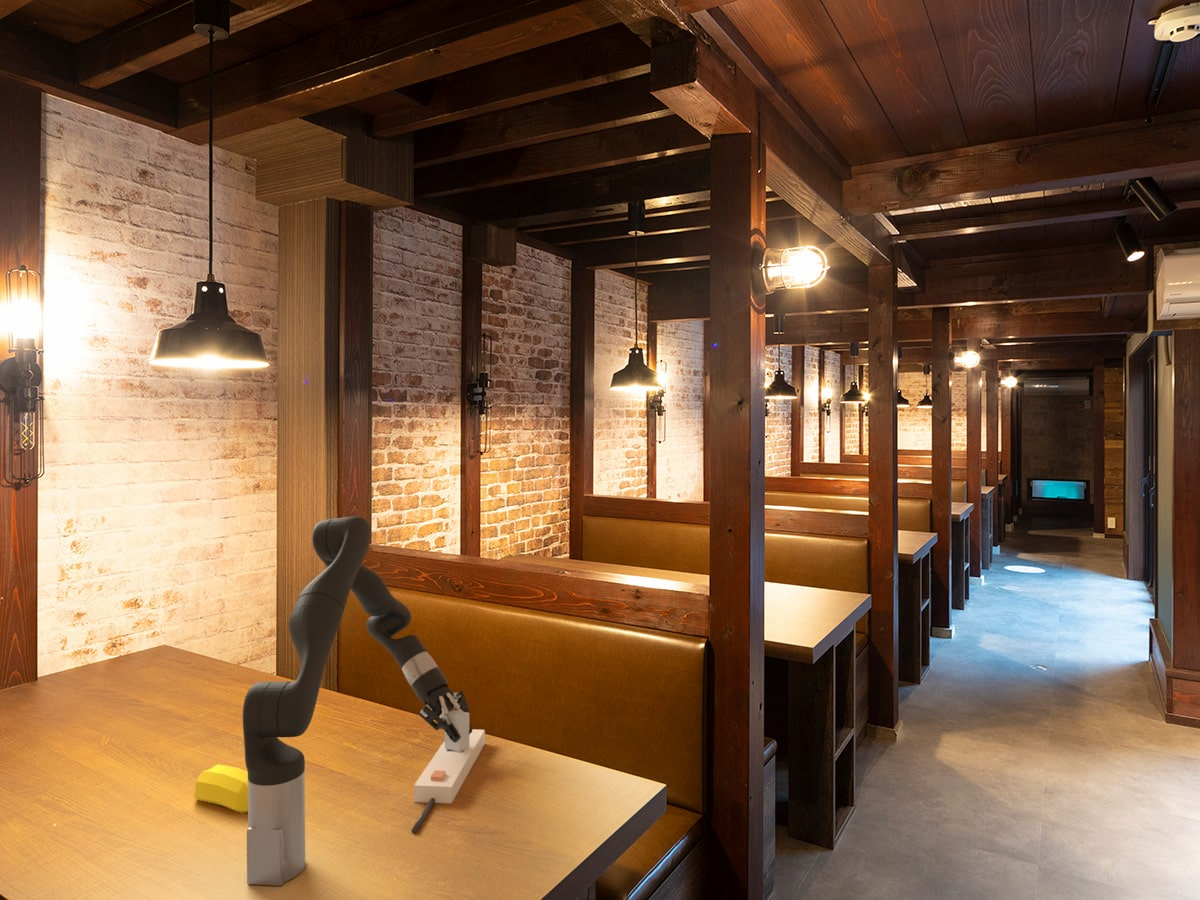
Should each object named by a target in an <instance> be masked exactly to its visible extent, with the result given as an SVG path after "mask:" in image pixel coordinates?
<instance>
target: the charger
mask: <svg viewBox="0 0 1200 900" xmlns="http://www.w3.org/2000/svg"><path fill="white" fill-rule="evenodd" d="M448 717H449V718H450V720H451V724H453V725H454V727H455V728H456V730H457V731H458V733H459V734H460V736H461V738H460V739H459V740H458V741H457V742H455V743H454V742H453V741H452V740H451V739H450V738H449V736H448V735H447V733H446V732H445V730H443V731H444V732H443V733H444V741H445V748H446V749H449V750H451V751H454V752H463V750H465V749H466V748H468V747H469V724H470V712H468V713H467V712H464V711H460V710H454V709H452V711H450V712H449V714H448ZM444 721H445V720H444Z"/></svg>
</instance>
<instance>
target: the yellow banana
mask: <svg viewBox="0 0 1200 900" xmlns="http://www.w3.org/2000/svg"><path fill="white" fill-rule="evenodd" d="M194 789H195V791H194V796H193V798H195V799H196V800H198V801H200V802H203V801H204V802H203V803H207V802H208V803H209V804H212V803H213V804H212V805H219V806H222V807H224V808H227V809H229V810H232V811H234V810H235V812H237V813H239V812H240V813H239V814H245V813H248V771H247V770H245V769H242V768H240V767H238V766H237V767H235V766H229V765H224V764H223V765H222V764H219V763H218V764H215V765H214V766H212V767H211V768H209V769H206V770H203V771H202V772H201V773H200V775H199V776H198V778H197V780H196V781H195V788H194Z"/></svg>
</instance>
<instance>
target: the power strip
mask: <svg viewBox="0 0 1200 900" xmlns="http://www.w3.org/2000/svg"><path fill="white" fill-rule="evenodd" d="M485 738H486V730H485V729H473V728H472V733H471V734H470V735H469V747H468V748H466V749H465V750H463V752H454V751H451V750H449V749H446V748H445V740H444V741H443V743H442V744H441V745H440V747H439V748H438V750H437V751H436V752H435V754H434V756H433V757H432V759H430V762H429V763H428V764H427V765H426V767H425V768H424V770H423V771H422V773H421V774H420V776H419V777H418V779H416V781H415V782H414V785H413V802H414V803H427V804H426V806H425V807H424V809H423V811H422V812H421V814H420V816H419V817H418V818H417V821H416V822H415V824H414V825H413V827H412V828H411V833H412V834H416V833H417V832H418V830H419V829H420V827H421V825H422V824H423V822H424V820H425V819H426V817H427V815H428V813H429V812H430V810H431V809H432V807H433V805H434V804H453V802H454V800H455V798H456V796H457V795H458V793H459V792H460V789H461V787H462V786H463V783H465V781H466V778H467V776H468V775H469V773H470V771H471V769H472V767H473V766H474V764H475V762H476V760H477V759H478V757H479V755H480V753H481V752H482V750H483V747H484V746H485V744H486V739H485Z"/></svg>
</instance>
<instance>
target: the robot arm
mask: <svg viewBox="0 0 1200 900" xmlns="http://www.w3.org/2000/svg"><path fill="white" fill-rule="evenodd" d="M311 539H312V546H313V549H314V551H315V553H316V555H317V557H318V558H319V559H320V560H321V561H322V562H323V563H324V564H325V565H326V566H327V567H326V568H325V569H324V570H323V571H322V572H320V573H319V574H318V575H317V576H316V577H314V579H312V580H311V581H310V582H309V583H308V584H307V585H306V586H305V587H304V588H303V589H302V590H301V591H300V594H299V595H298V597H297V600H296V602H295V604H294V607H293V609H292V611H291V614H290V617H289V621H288V631H289V636H290V638H291V642H292V643H293V646H294V649H295V650H296V654H297V656H298V660H299V662H300V668H299V673H298V676H297V678H296V679H295V680H294V681H260V682H256V683H254V684H252V685H251V686H250V688H249V689H248V690H247V693H246V694H245V697H244V701H243V705H242V730H243V744H244V745H243V746H244V760H245V761H244V762H245V766H246V767H245V768H246V771H248V811H247V824H248V825H247V830H246V883H247V884H248V885H256V886H257V885H259V886H260V885H261V886H276V887H277V886H280V887H281V886H283V885H284V883H286V882H288V881H290V880H292V879H294V878H296V877H297V876H299V875H300V874H301V873H302V872H303V871H304V869H305V867H306V788H305V787H306V778H305V777H306V775H305V773H306V770H305V767H306V765H305V764H306V763H305V755H304V753H303V751H301V750H300V749H298V748H296V747H293V746H291V745H289V744H286V743H285V742H283V741H282V740H281V739H279V738H296V737H301V736H302V735H304V734H305V732H307V730H308V729H309V727H310V724H311V722H312V719H313V716H314V712H315V709H316V706H317V705H316V704H317V700H318V697H319V693H320V690H321V689H320V687H321V685H322V684H321V683H322V682H323V681H322V680H323V675H324V672H325V668H326V664H327V661H328V658H329V655H330V652H331V648H332V646H333V643H334V640H335V638H336V635H337V632H338V630H339V627H340V624H341V621H342V619H343V615H344V612H345V609H346V605H347V602H348V599H349V595H350V593H351V592H352V593H353V595H354V596H355V597H356V599H357V601H358V602H359V604H360V605H361V607H362V609H363V611H364V612H365V613H366V614H367V615H369V616H370V617H368V619H367V621H366V629H367V632H368V633H369V635H370V636H371V637H372V638H373V639H374V640H375V641H377V642H379V644H380V645H382V646H383V647H384V648H385V649H386V650H387V651H389V653H390V655H391V656H392V657H393V658H394V660H395V661H396V662H397V664H398V665H399V668H400V669H401V671H402V673H403V675H404V677H405V679H406V681H407V682H408V684H409V686H410V687H411V688H412V690H413V692H414V693H415V695H416V697H418V700H419V701H420V702H423V703H424V704H423V705H424V707H423V708H422V709H421V710H420V711H419V712H418V716H419V717H420V718H422V719H423V720H424V721H425V722H427V724H429V726H431V727H432V728H433V729H434V730H435V731H439V730H443V731H444V730H445V732H446V733H447V735H448V736H449V738H450V739H451V740H452V741H453V742H454V743H455V742H457V741H458V740H459V739H460V738H461V736H460V734H459V733H458V731H457V730H456V728H455V727H454V725H453V724H451V720H450V718H449V717H448V714H449V712H450V711H452V710H460V711H464V712H467V713H470V710H469V709H470V708H469V706H468V702H467V701H466V700H467V699H466V697H465V693H464V691H463V690H459V691H458V692H454V691H453V690H452V689H450V687H449V686H448V685H449V682H448V679H447V678H446V676H445V675H444V673H443V672H442V671H441V669H440V667H439V666H438V664H437V663H436V662H435V660H434V658H432V656H431V655H430V654H429V652H428V651H427V649H426V648H425V646H424V645H423V643H422V642H421V640H420V638H418V637H417V636H416V635H415V634H408V635H406V636H402V637H400V638H396V639H395V638H392V637H393V636H395V635H397V634H398V633H400V632H402V631H403V630H404V629H406V628H407V627H408V626H409V625H410V624H411V621H412V614H411V611H410V610H409V608H408V607H407V606H406V605H405V604H404V603H403V602H402V601H400V600H398V599H397V598H395V597H394V595H392V594H391V592H390V589H389V588H388V586H387V585H386V583H385V581H384V580H383V578H382V577H381V576H380V575H379V574H377V573H376V572H375V571H374V570H372V569H370V568H368V567H367V566H365V565H363V562H364V561H365V559H366V555H367V554H368V551H369V548H370V543H371V527H370V524H369V523H368V521H367V520H366V519H365V518H364V517H362V516H355V515H354V516H347V517H346V516H344V517H338V518H329V519H324V520H321V521H319V522H317V523H316V524H315V526H314V528H313V529H312V538H311ZM444 720H445V721H444ZM472 729H473V728H472V726H471V724H470V723H469V735H470V734H471V733H472ZM445 732H444V733H445Z"/></svg>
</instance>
